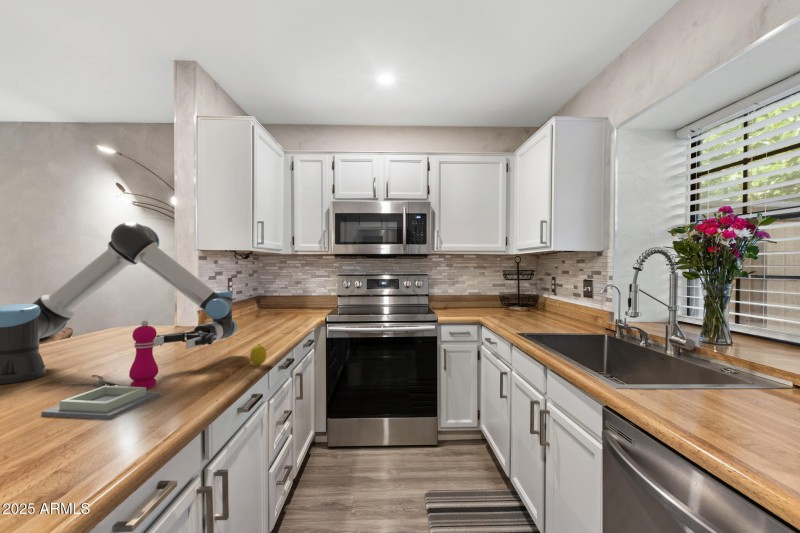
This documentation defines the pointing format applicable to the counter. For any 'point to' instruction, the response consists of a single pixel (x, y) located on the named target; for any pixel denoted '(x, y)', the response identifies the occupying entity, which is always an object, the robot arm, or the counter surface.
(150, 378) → the pepper mill
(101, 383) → the pliers
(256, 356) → the lemon
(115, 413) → the pocket board
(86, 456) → the counter surface
